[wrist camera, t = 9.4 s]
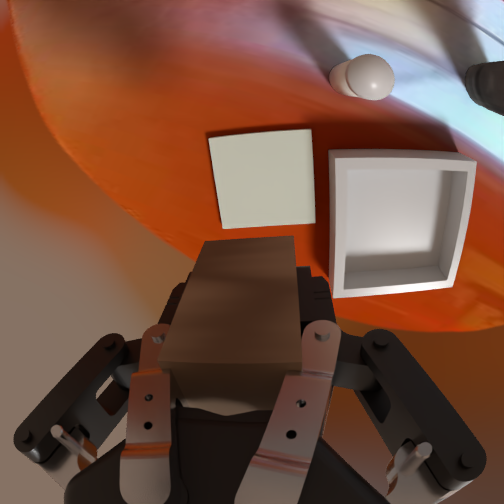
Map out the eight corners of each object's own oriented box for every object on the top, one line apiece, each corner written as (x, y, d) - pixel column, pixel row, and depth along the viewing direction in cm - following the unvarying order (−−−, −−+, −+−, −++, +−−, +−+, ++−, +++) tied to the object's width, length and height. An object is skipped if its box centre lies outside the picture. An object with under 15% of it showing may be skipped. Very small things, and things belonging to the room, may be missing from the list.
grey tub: (328, 278, 33) (333, 298, 30) (328, 149, 26) (335, 158, 23) (440, 269, 31) (452, 286, 28) (458, 152, 24) (476, 161, 21)
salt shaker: (329, 95, 24) (349, 98, 17) (327, 62, 22) (346, 52, 15) (363, 96, 23) (395, 101, 16) (361, 63, 22) (393, 56, 15)
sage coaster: (223, 226, 31) (222, 228, 30) (209, 137, 26) (208, 138, 26) (314, 220, 30) (315, 222, 29) (310, 128, 25) (311, 129, 25)
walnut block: (219, 308, 16) (192, 425, 10) (205, 241, 14) (157, 360, 8) (296, 305, 16) (301, 428, 10) (293, 235, 14) (302, 361, 8)
